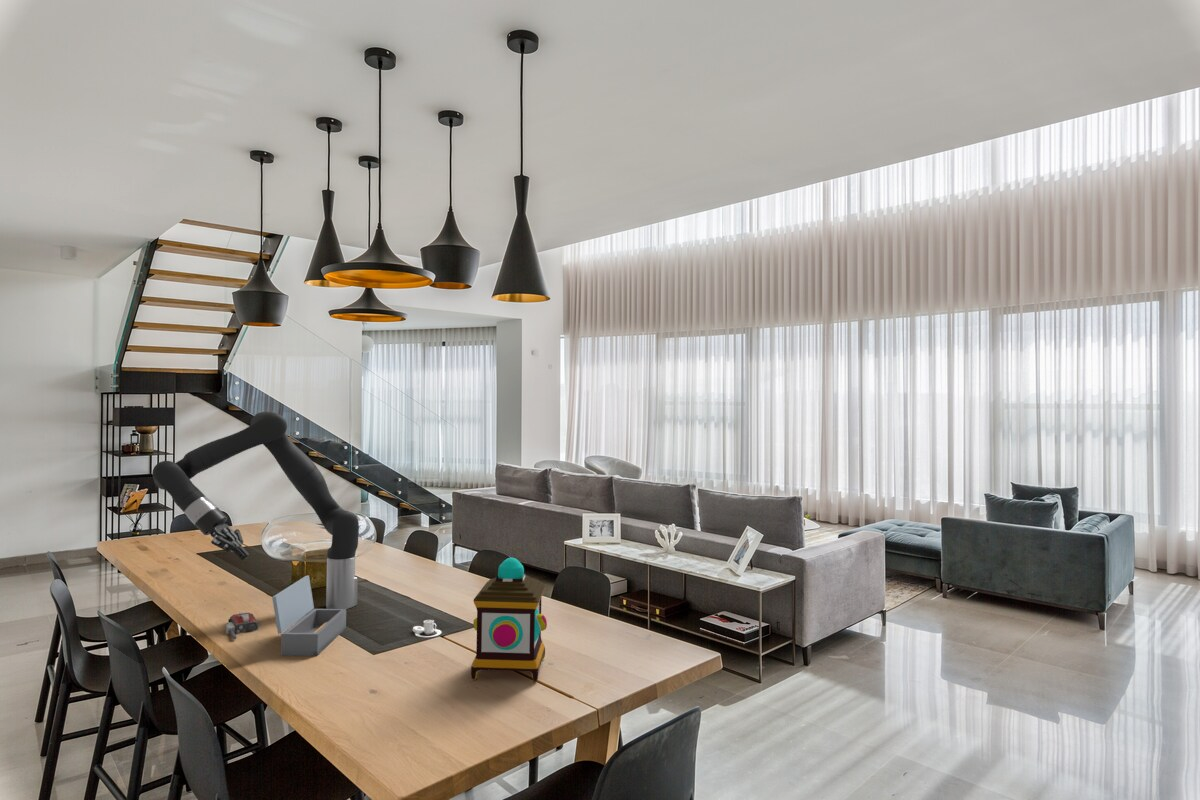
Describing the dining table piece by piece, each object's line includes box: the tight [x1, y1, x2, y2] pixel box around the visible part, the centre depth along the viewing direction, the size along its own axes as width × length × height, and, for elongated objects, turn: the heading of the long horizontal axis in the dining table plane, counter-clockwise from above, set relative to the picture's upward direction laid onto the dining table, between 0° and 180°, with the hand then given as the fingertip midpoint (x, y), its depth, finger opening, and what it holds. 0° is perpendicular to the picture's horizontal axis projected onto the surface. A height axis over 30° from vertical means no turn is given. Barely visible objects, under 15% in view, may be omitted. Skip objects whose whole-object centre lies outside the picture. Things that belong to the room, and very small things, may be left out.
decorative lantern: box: [470, 557, 548, 683], centre depth 188 cm, size 20×20×30 cm
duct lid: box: [271, 575, 315, 635], centre depth 207 cm, size 10×24×1 cm
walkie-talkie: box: [225, 612, 259, 640], centre depth 216 cm, size 9×4×20 cm
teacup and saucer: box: [412, 619, 442, 638], centre depth 216 cm, size 9×8×4 cm
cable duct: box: [280, 608, 347, 657], centre depth 207 cm, size 10×24×6 cm, turn 2°
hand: (246, 557), depth 207 cm, fingers closed
